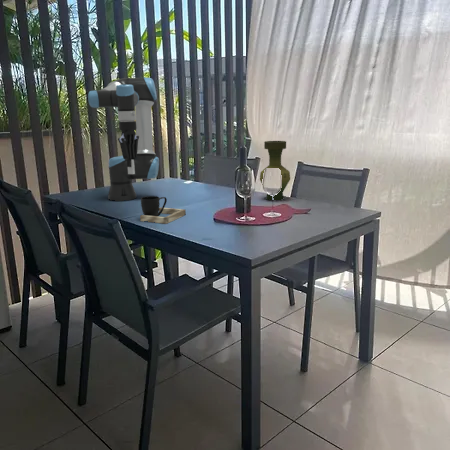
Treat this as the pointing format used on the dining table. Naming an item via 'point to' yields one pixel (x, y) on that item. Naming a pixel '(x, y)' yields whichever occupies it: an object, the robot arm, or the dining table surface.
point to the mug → (152, 205)
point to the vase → (276, 164)
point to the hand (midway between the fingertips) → (131, 173)
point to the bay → (174, 215)
